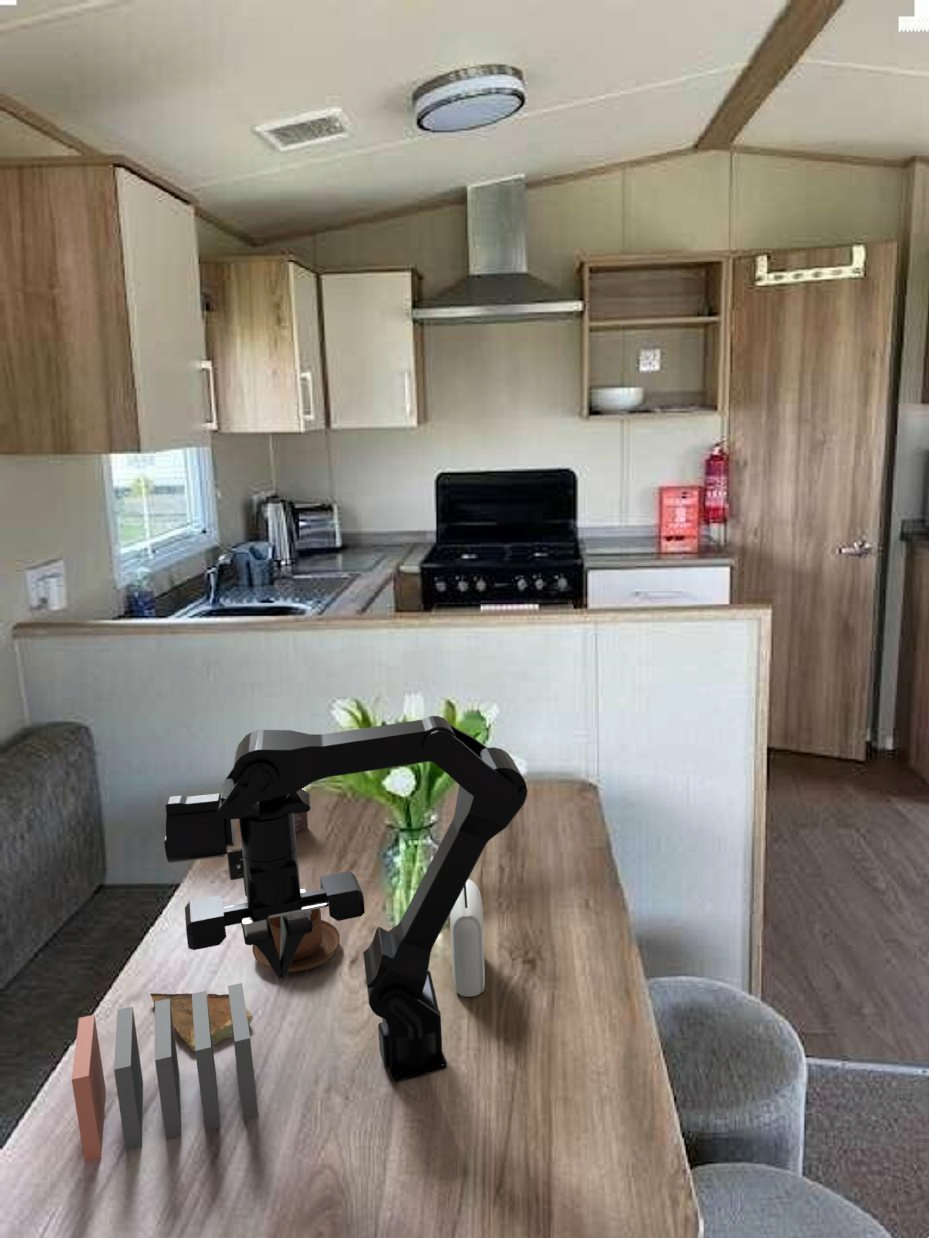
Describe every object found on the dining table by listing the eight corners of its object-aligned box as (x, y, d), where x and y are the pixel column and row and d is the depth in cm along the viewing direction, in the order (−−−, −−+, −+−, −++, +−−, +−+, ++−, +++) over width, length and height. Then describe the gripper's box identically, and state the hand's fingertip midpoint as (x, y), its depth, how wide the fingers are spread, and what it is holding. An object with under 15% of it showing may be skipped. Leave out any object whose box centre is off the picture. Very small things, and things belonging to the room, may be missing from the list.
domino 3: (179, 1073, 108) (169, 998, 106) (181, 1136, 99) (171, 1056, 96) (164, 1076, 108) (154, 1001, 105) (165, 1141, 98) (155, 1060, 96)
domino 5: (249, 1056, 110) (242, 982, 108) (258, 1117, 101) (250, 1037, 99) (235, 1060, 110) (227, 985, 108) (243, 1121, 101) (234, 1041, 98)
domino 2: (143, 1082, 107) (132, 1006, 105) (142, 1147, 98) (130, 1065, 95) (128, 1085, 106) (117, 1009, 104) (125, 1151, 97) (113, 1069, 95)
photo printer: (451, 952, 129) (448, 871, 126) (482, 950, 129) (479, 869, 126) (453, 999, 119) (449, 913, 116) (486, 997, 120) (483, 911, 116)
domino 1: (106, 1090, 106) (94, 1014, 103) (101, 1157, 97) (88, 1075, 94) (90, 1094, 105) (79, 1017, 103) (84, 1162, 96) (71, 1079, 94)
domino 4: (214, 1064, 109) (206, 990, 107) (220, 1127, 100) (211, 1047, 98) (200, 1068, 109) (191, 993, 106) (205, 1131, 100) (195, 1050, 97)
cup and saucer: (236, 971, 127) (232, 931, 126) (282, 923, 138) (278, 886, 136) (314, 987, 123) (310, 946, 121) (355, 937, 134) (352, 899, 132)
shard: (151, 1005, 121) (149, 990, 120) (218, 977, 126) (217, 962, 126) (191, 1059, 111) (189, 1044, 110) (262, 1026, 116) (261, 1011, 116)
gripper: (341, 804, 110) (350, 921, 114) (177, 831, 105) (191, 954, 109) (361, 846, 100) (369, 974, 104) (179, 879, 94) (195, 1012, 98)
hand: (281, 976), depth 104 cm, fingers closed
